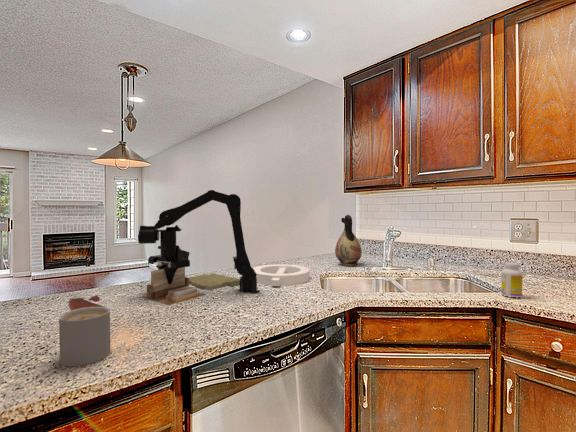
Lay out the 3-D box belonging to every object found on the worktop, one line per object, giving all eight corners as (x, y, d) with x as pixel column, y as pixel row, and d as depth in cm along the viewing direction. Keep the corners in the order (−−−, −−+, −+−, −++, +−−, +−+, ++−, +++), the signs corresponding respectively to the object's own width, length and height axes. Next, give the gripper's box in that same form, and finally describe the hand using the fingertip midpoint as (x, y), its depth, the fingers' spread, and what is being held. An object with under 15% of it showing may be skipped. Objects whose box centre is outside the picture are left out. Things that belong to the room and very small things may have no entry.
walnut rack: (207, 296, 125) (207, 281, 125) (168, 308, 111) (168, 290, 111) (181, 290, 134) (180, 276, 134) (142, 300, 120) (142, 284, 120)
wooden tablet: (68, 302, 119) (68, 298, 119) (99, 297, 125) (99, 293, 125) (73, 323, 98) (73, 318, 98) (110, 316, 104) (110, 311, 104)
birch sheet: (185, 290, 130) (184, 265, 130) (153, 298, 119) (152, 271, 118) (183, 290, 131) (183, 265, 130) (151, 298, 119) (150, 271, 119)
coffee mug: (105, 362, 72) (104, 318, 72) (52, 369, 69) (51, 322, 69) (117, 339, 85) (116, 301, 85) (73, 344, 82) (72, 304, 82)
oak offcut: (199, 296, 122) (199, 292, 122) (176, 302, 114) (176, 298, 114) (188, 293, 126) (188, 289, 126) (166, 299, 117) (166, 295, 117)
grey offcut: (197, 292, 122) (197, 288, 122) (177, 297, 115) (177, 293, 115) (188, 290, 125) (188, 286, 125) (168, 295, 118) (168, 291, 118)
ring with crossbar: (274, 289, 137) (274, 278, 137) (240, 278, 159) (240, 268, 159) (321, 280, 155) (321, 270, 154) (285, 271, 176) (285, 262, 176)
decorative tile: (213, 279, 157) (212, 272, 157) (242, 285, 145) (242, 277, 145) (179, 287, 142) (179, 278, 142) (208, 294, 130) (208, 285, 130)
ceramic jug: (332, 262, 200) (332, 214, 199) (356, 262, 201) (356, 214, 201) (339, 268, 183) (339, 215, 182) (366, 267, 185) (366, 214, 184)
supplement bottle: (525, 297, 125) (526, 263, 124) (516, 299, 121) (517, 265, 121) (506, 293, 130) (507, 261, 130) (497, 295, 127) (498, 262, 127)
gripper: (201, 242, 125) (201, 283, 126) (171, 239, 136) (172, 277, 137) (176, 245, 116) (177, 289, 117) (147, 242, 127) (147, 282, 127)
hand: (168, 283), depth 125 cm, fingers closed on birch sheet, 1 cm apart
